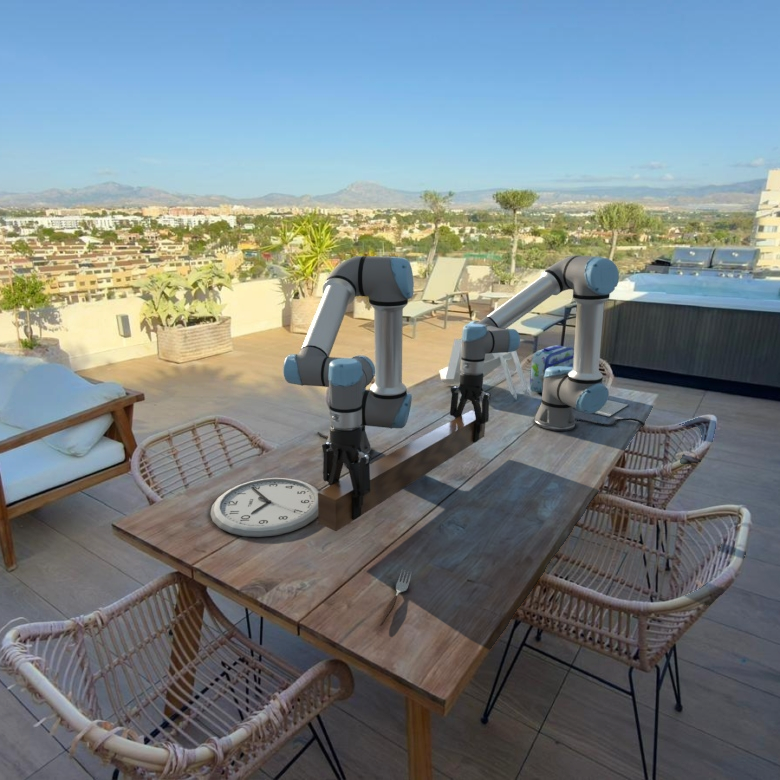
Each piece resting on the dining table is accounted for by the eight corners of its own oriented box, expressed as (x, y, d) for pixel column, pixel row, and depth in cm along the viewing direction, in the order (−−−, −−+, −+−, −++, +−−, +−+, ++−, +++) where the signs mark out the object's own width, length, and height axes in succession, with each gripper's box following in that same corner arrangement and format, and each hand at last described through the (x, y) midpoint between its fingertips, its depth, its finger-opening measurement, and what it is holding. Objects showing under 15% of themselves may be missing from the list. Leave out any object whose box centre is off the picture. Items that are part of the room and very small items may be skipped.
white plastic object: (461, 429, 252) (437, 405, 227) (444, 352, 274) (420, 323, 250) (535, 404, 240) (518, 377, 215) (510, 326, 262) (492, 293, 237)
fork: (373, 626, 100) (374, 617, 99) (401, 576, 114) (401, 568, 113) (386, 630, 99) (386, 621, 98) (412, 579, 113) (412, 571, 112)
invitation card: (608, 416, 214) (573, 407, 224) (608, 416, 214) (573, 408, 224) (628, 404, 229) (594, 396, 238) (628, 405, 229) (594, 397, 238)
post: (469, 432, 183) (471, 410, 180) (484, 436, 179) (486, 413, 177) (318, 523, 125) (317, 492, 123) (336, 531, 122) (335, 499, 120)
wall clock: (322, 529, 128) (196, 532, 126) (322, 534, 129) (197, 538, 126) (326, 473, 157) (223, 476, 154) (326, 478, 157) (224, 481, 155)
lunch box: (546, 398, 236) (551, 353, 229) (525, 393, 243) (529, 349, 237) (573, 387, 253) (579, 344, 247) (553, 382, 260) (558, 341, 254)
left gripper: (305, 420, 124) (308, 507, 131) (366, 439, 114) (366, 532, 121) (327, 412, 130) (329, 495, 137) (387, 430, 119) (385, 519, 126)
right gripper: (440, 369, 171) (437, 435, 178) (493, 380, 161) (487, 449, 167) (452, 365, 177) (449, 429, 184) (503, 375, 166) (497, 442, 173)
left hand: (346, 512), depth 129 cm, fingers closed on post, 6 cm apart
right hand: (467, 438), depth 176 cm, fingers closed on post, 6 cm apart
